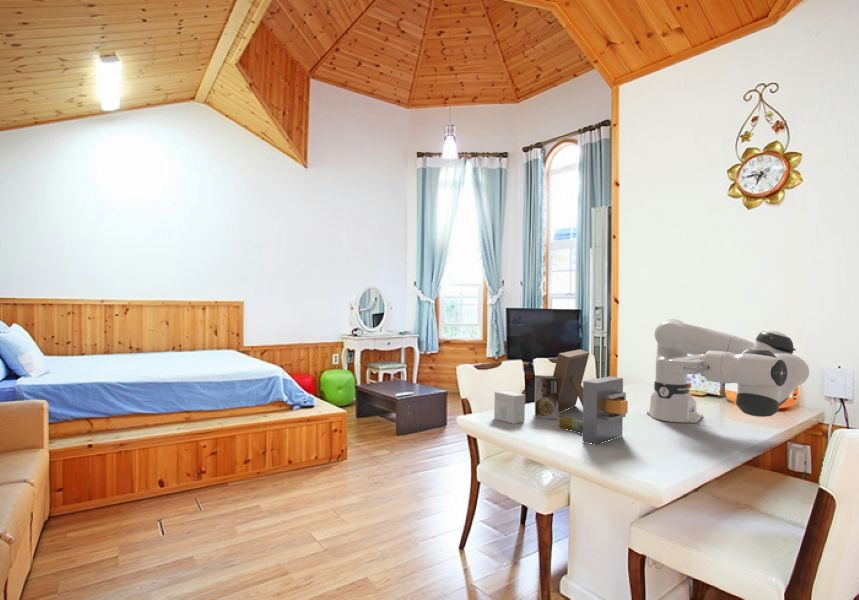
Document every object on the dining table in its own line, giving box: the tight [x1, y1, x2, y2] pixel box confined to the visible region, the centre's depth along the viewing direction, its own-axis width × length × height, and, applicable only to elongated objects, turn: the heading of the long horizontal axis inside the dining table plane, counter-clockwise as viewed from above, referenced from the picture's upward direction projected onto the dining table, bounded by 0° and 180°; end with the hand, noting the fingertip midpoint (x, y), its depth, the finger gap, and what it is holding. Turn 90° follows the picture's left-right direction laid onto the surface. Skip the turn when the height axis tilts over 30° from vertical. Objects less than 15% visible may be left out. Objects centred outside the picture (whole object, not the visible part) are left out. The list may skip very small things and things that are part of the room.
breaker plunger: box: [605, 398, 629, 415], centre depth 160 cm, size 4×10×4 cm, turn 39°
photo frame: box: [552, 349, 590, 414], centre depth 200 cm, size 15×22×25 cm
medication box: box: [558, 416, 583, 434], centre depth 172 cm, size 12×3×4 cm, turn 38°
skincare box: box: [493, 390, 526, 425], centre depth 186 cm, size 10×6×10 cm, turn 39°
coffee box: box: [534, 374, 560, 420], centre depth 191 cm, size 9×6×16 cm
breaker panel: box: [582, 375, 627, 446], centre depth 161 cm, size 16×8×20 cm, turn 129°
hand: (665, 361), depth 148 cm, fingers open, 7 cm apart
